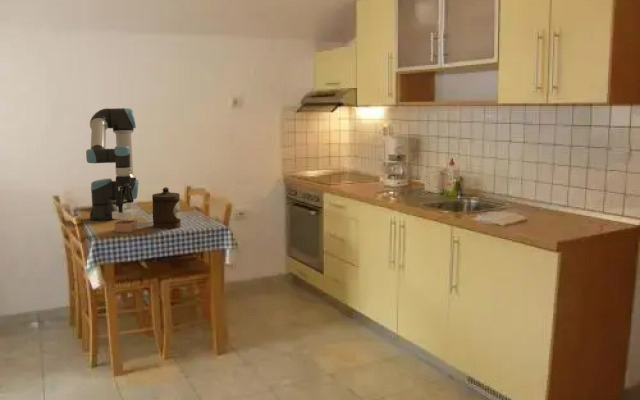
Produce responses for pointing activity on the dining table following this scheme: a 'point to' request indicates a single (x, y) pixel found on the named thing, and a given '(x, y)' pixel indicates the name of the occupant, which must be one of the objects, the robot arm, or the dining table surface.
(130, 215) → the lid
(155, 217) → the wooden container
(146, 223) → the mat
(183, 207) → the dining table surface
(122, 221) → the dish
